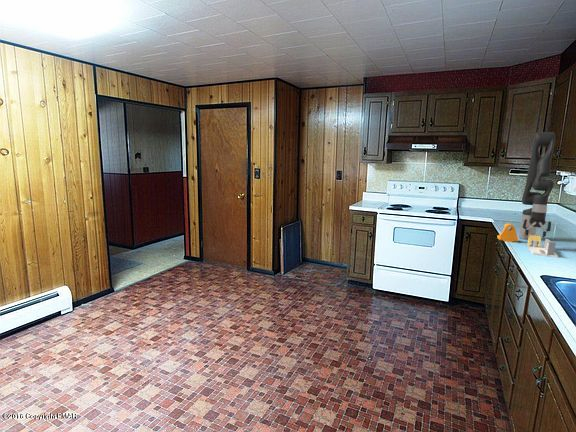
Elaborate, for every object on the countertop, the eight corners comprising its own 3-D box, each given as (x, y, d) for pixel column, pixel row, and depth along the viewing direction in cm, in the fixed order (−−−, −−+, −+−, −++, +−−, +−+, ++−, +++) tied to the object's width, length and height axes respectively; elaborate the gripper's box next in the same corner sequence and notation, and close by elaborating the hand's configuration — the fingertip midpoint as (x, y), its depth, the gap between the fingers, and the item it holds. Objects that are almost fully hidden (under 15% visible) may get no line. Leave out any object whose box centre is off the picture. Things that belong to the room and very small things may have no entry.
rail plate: (527, 245, 227) (529, 232, 225) (549, 247, 222) (551, 235, 220) (532, 254, 206) (534, 240, 205) (557, 257, 201) (560, 243, 199)
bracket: (514, 240, 240) (516, 223, 238) (517, 242, 234) (520, 225, 231) (496, 238, 244) (498, 221, 241) (499, 241, 237) (501, 223, 235)
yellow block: (527, 243, 224) (528, 234, 223) (538, 244, 222) (540, 235, 220) (528, 245, 220) (530, 235, 219) (539, 246, 217) (541, 237, 216)
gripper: (551, 211, 217) (547, 236, 219) (524, 209, 223) (520, 233, 226) (554, 213, 210) (549, 239, 213) (526, 210, 217) (522, 236, 219)
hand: (534, 236), depth 219 cm, fingers open, 8 cm apart
